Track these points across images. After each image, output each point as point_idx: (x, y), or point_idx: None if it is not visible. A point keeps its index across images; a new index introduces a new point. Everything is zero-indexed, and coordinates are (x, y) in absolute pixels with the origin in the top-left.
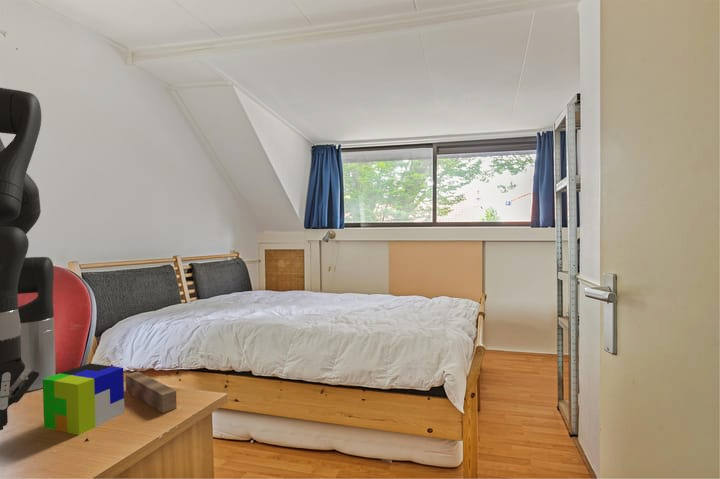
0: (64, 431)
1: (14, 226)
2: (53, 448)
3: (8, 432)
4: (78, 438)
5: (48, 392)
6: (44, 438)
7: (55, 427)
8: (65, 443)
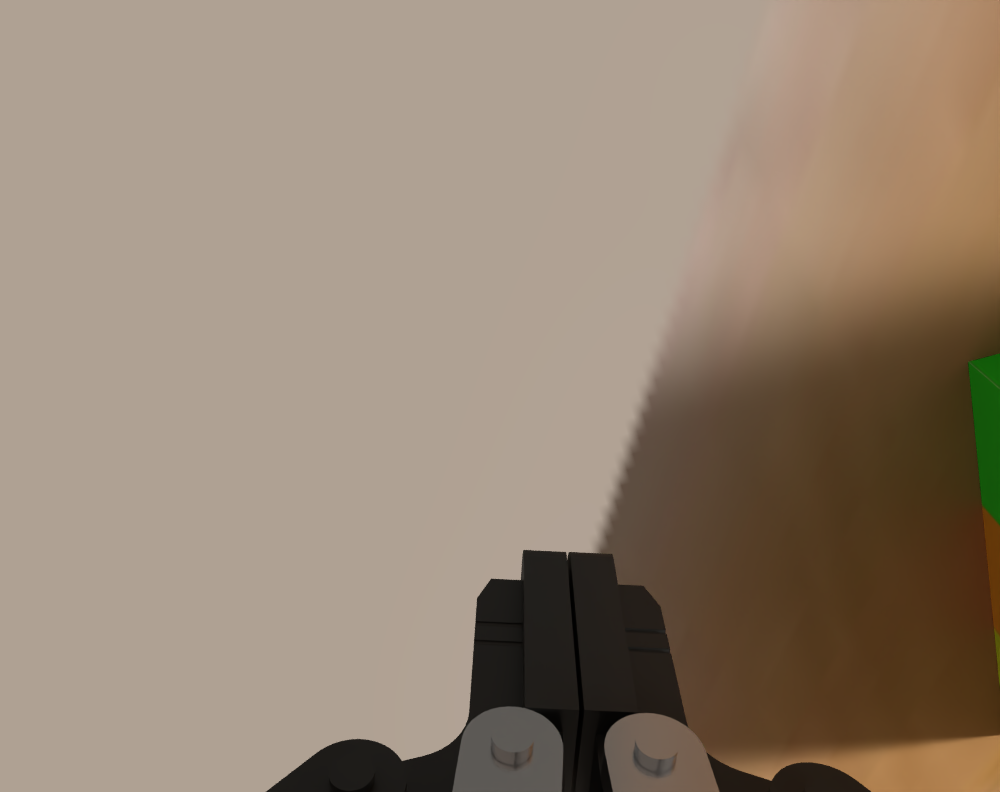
0: (992, 604)
1: None
2: None
3: (729, 183)
4: (965, 774)
5: None
6: (843, 593)
7: (992, 521)
8: (876, 776)
